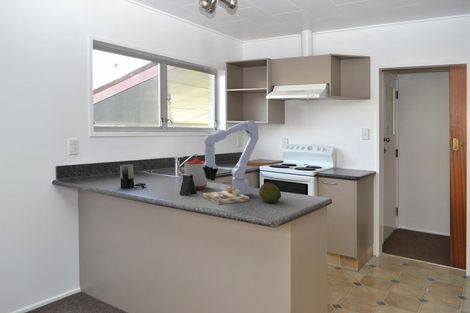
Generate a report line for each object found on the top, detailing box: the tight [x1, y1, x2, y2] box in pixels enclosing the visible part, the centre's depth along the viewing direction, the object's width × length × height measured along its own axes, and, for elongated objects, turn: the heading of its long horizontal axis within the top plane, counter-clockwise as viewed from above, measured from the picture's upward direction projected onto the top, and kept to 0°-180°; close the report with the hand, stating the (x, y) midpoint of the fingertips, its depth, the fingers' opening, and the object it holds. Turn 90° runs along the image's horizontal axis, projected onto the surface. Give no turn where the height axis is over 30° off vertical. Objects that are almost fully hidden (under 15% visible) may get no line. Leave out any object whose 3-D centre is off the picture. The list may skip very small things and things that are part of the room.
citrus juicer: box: [183, 157, 209, 190], centre depth 239 cm, size 16×17×20 cm
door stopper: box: [178, 173, 198, 197], centre depth 220 cm, size 9×6×12 cm, turn 137°
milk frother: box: [119, 164, 147, 189], centre depth 246 cm, size 14×16×15 cm
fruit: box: [258, 182, 282, 203], centre depth 196 cm, size 12×13×10 cm
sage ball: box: [235, 189, 241, 196], centre depth 204 cm, size 4×4×4 cm
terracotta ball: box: [226, 186, 233, 192], centre depth 213 cm, size 4×4×4 cm
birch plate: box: [202, 190, 250, 205], centre depth 206 cm, size 18×22×2 cm
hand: (210, 179), depth 214 cm, fingers open, 7 cm apart
